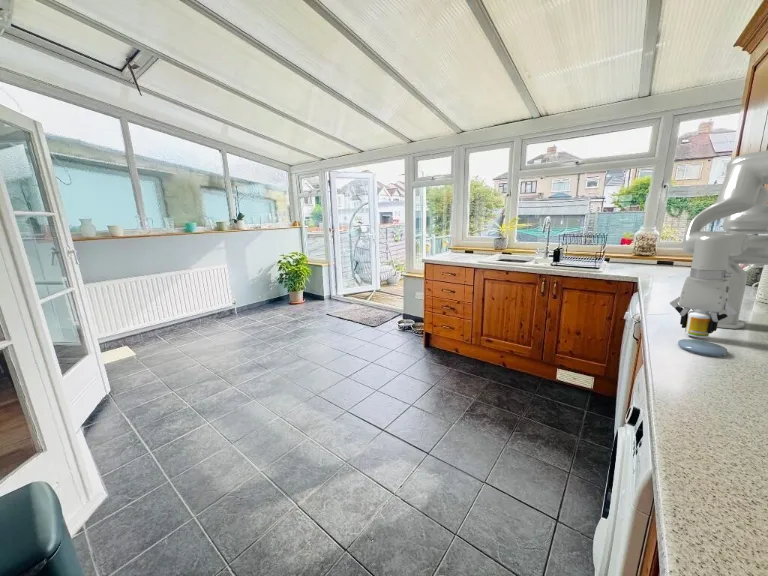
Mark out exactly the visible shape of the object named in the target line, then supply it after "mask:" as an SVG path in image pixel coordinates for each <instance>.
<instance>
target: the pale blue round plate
mask: <svg viewBox="0 0 768 576" xmlns="http://www.w3.org/2000/svg"><path fill="white" fill-rule="evenodd" d="M677 345H678V347H679V348H681V349H684V350H685V351H687V352H690V353H693V354H696V355H701V356H707V357H719V356H722V357H723V356H725V355H727V353H728V349H727V348H726V347H725V346H723V345H720V344H717V343H715V342H710V341H706V340H700V339H691V338H684V339H683V338H682V339H679V340H678V342H677Z"/></svg>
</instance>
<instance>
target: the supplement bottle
mask: <svg viewBox="0 0 768 576" xmlns="http://www.w3.org/2000/svg"><path fill="white" fill-rule="evenodd" d="M711 319H712V317H711V314H710V313H708V312H707V311H703V310H699V309H691V310H690V311H689V312H688V317H687V323H686V328H684V329H685V330H684V333H685V334H686V335H687V336H689V337H693V338H694V337H695V338H701V339H705V338H708V337H709V335H710V333H708V327H709V322H710V321H711Z"/></svg>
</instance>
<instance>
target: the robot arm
mask: <svg viewBox="0 0 768 576" xmlns="http://www.w3.org/2000/svg"><path fill="white" fill-rule="evenodd" d="M765 185H768V150H762V151H757V152H756V151H755V152H750V153H749V152H748V153H745V154H740V155H737V156H735V157H733V158H732V159H730V160H729V162H728V163H727V165H726V175H725V177H724V179H723V182H722V185H721V188H720V190H719V193H718V195H717V199H716V201H715V202H714V203H712V204H710V205H708V206H707V207H706V208H704V209H703V210H701V211H700V212H699V213H697V214H696V215H695V216H694V217H693V218H692V220H690V222H689V224H688V226H687V228H686V231H685V234H684V236H683V239H682V243H681V247H682V250H683V252H684V253H687V254H688V255H689V254H690V255H693V256H692V260H691V267H690V273H689V276H687V277H686V278H685V280H684V283H683V285H682V288H681V292H680V295H679V296H678V297H677V298H675V299H674V300H672V301H670V302H669V305H670V306H672V307H673V308H674V310H675V311H677V312H678V313H679V315H680V323H679V324H680V325H681V328H682V329H686V323H687V317H688V313H689V312H690V311H691V310H692V309H699V310H703V311H707V312H708V313H710V314H711V317H712V319H711V321H710V322H709V327H708V333H709V335H710V334H712V333H714V332H716V331H717V329H718V328H721V329H732V330H733V329H734V330H735V329H742V328H744V327H745V323H744V322H743V321H741V320H739V317H740V314H741V309H742V305H743V301H744V296H745V290H746V288H747V287H746V285H747V281H748V275H747V273H746V271H745V270H744V269H743V268H742V267H741V266H740V265H744V264H745V265H761V266H768V204H767V203H768V189H767V188H766V187H765ZM720 219H724V220H723V225H722V227H723V230H724V231H721V230H720V231H718V230H717V231H715V230H714V231H708V230H706V231H704V230H702V229H703V228H704V227H706V226H707V225H709V224H710V223H713V222H715V221H717V220H720Z"/></svg>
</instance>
